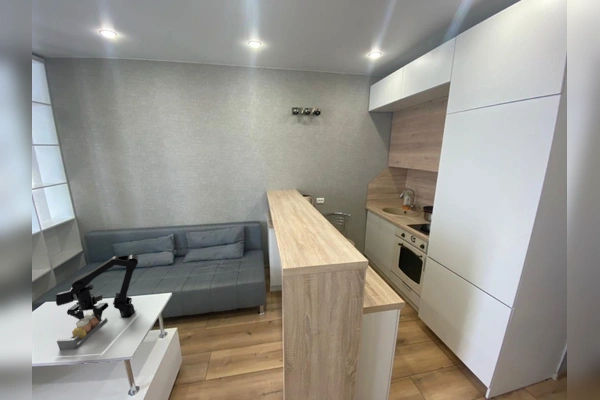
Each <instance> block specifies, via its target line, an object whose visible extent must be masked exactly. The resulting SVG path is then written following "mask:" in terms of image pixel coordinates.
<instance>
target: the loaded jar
mask: <svg viewBox="0 0 600 400" xmlns="http://www.w3.org/2000/svg"><path fill="white" fill-rule="evenodd" d="M75 325H76V328H81V327H82V328H83V329H85V331H86V334H88V333H89V332H90V331H91V330H92V328H91V324H90V321H89V318H83V319H81V320H79V319H78V320H77V321H76V323H75Z"/></svg>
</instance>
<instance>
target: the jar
mask: <svg viewBox="0 0 600 400" xmlns="http://www.w3.org/2000/svg"><path fill="white" fill-rule="evenodd" d="M84 317H85V318H89V321H90V324H91V328H92V329H94V328H95V327H96V326H97V325H98V324H99V323H100V322H99V321H98V320H97V318H96V317H95V316H94V313H93V310H91V311H90V312H87V313H86V314H84Z"/></svg>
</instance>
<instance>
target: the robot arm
mask: <svg viewBox="0 0 600 400" xmlns="http://www.w3.org/2000/svg"><path fill="white" fill-rule="evenodd" d="M138 264H139V256H138V255H137V254H129V255H128V254H125V255H120V256H119V255H118V256H117V255H115V256H112V257H111V258H109V259H108V260H106V261H105V262H103V263H102V264H100V265H98V266H97V267H95V268H94V269H92V270H91V271H89V272H86V273H83V274H81V275H78V276H77V277H75V278H74V279H73V282H72V284H71V288H70V289H69V290H65V291H62V292H57V293H56V294H55V296H56V297H55V304H56V306H57V307H59V306H64V305H66V304H70V303H72V302H74V301H75V300H76V299H77V302H76V303H75V304H73V305H72V306H71V307H69V308H68V309H67V311H66V314H67V316H69V315H70V317H74V318H75V319H77V320H78V321H79V320H81V319H83V318H85V313H84V312H85V311H86V312H87V311H93V313H94V316H95V317H96V318H97V320H98V321H100V320H101V319H102V315H103V312H104V311H105V310H106V309H107V308H108V307H109V303H108V302H100V301H103V294H93V293H92V292H91V291H92V290H93V289H94V287H95V285H94V284H90V283H91V282H93V280H95V278H97V277H99V276H100V275H102V274H103V273H105V272H106V271H108V270H109V269H111V268H113V267H115V266H120V267H125V273H124V277H123V280H122V284H121V287H120V290H119V292H116V293H115V295H114V298H113V302H112V305H113V308H114V309H117V310H118V311H119V314H120V319H129V318H131V317H132V316H133V315H134V314H135V313H136V312H137V309H136V310H135V307H134V304H132V301H133V298H132V297H129V296H128V291H129V289H130V288H129V287H130V284H131V281H132V278H133V277H132V276H133V273H134V271H135V270H136V268H137V266H138ZM98 302H100V303H98Z"/></svg>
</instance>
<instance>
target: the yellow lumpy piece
mask: <svg viewBox="0 0 600 400" xmlns="http://www.w3.org/2000/svg"><path fill="white" fill-rule="evenodd" d="M71 333H72V336H73V337H74V338H76V339H78V338H84V337H85V336H86V335H87V334H86V331H85V329H83V328H82V327H81V328H77V327H74V328H73V330H71Z"/></svg>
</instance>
